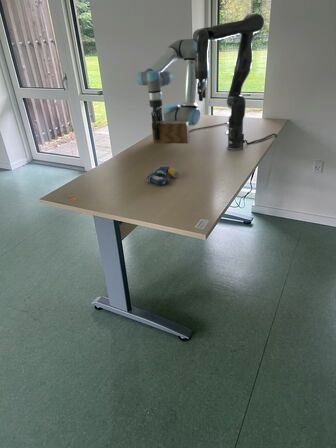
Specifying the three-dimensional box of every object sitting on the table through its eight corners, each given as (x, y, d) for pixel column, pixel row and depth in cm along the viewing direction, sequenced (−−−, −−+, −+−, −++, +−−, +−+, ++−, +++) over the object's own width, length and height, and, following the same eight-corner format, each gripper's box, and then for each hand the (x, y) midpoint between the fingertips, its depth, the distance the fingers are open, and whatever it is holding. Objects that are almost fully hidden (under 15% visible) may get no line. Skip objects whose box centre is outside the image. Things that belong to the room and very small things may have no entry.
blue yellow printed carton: (184, 172, 190) (161, 169, 197) (183, 165, 188) (160, 163, 195) (168, 188, 175) (143, 185, 181) (167, 180, 173) (142, 177, 179)
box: (153, 143, 210) (151, 123, 204) (156, 140, 215) (154, 121, 208) (187, 143, 204) (186, 123, 198) (189, 140, 209) (188, 120, 202)
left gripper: (156, 102, 190) (160, 142, 202) (166, 95, 205) (168, 133, 217) (144, 103, 192) (148, 142, 204) (154, 96, 207) (158, 133, 219)
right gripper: (205, 71, 182) (206, 101, 191) (210, 67, 194) (210, 96, 202) (192, 71, 185) (193, 102, 193) (197, 68, 196) (198, 97, 204)
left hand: (159, 137), depth 210 cm, fingers closed on box, 6 cm apart
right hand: (202, 99), depth 198 cm, fingers open, 8 cm apart
